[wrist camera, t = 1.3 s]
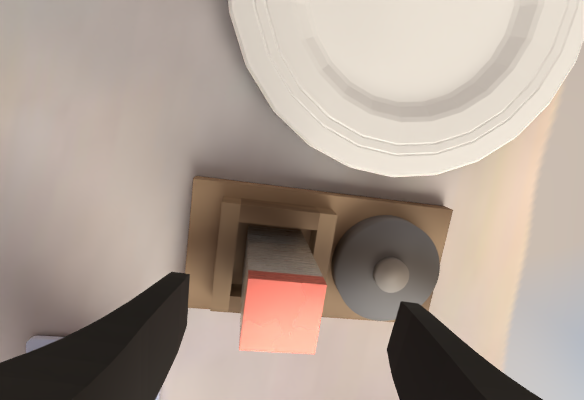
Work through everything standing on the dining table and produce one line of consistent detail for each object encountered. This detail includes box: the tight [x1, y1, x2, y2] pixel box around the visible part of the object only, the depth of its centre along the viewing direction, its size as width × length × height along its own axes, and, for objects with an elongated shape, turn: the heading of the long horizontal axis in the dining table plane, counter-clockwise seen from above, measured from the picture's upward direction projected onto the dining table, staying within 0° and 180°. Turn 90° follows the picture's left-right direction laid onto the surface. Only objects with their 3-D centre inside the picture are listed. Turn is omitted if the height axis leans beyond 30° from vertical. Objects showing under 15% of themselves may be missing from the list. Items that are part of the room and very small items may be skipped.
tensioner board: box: [185, 176, 453, 322], centre depth 22 cm, size 8×16×3 cm, turn 82°
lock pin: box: [239, 225, 327, 354], centre depth 18 cm, size 3×3×7 cm
